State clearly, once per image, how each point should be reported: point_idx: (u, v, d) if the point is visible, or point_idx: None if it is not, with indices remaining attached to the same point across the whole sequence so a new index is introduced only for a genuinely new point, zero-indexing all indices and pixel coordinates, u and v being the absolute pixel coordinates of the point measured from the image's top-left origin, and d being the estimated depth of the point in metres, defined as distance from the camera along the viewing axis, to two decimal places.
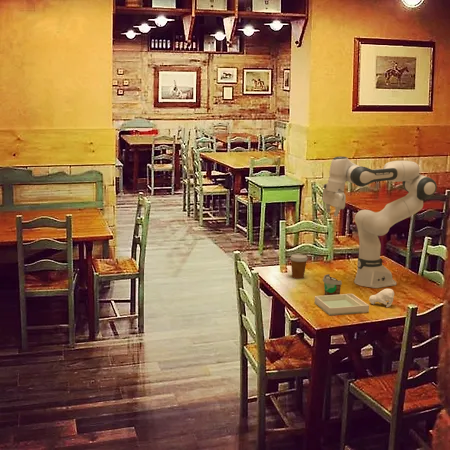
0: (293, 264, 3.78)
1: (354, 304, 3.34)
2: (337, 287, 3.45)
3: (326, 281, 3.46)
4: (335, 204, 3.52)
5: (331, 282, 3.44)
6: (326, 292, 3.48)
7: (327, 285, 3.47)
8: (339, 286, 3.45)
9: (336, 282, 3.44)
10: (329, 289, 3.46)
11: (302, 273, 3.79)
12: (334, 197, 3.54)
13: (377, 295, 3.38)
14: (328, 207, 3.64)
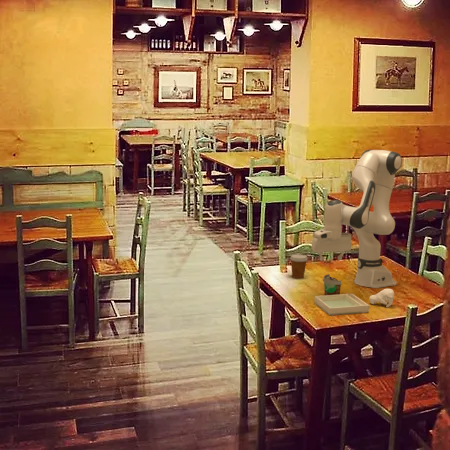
0: (293, 264, 3.78)
1: (354, 304, 3.34)
2: (337, 287, 3.45)
3: (326, 281, 3.46)
4: (344, 248, 3.44)
5: (331, 282, 3.44)
6: (326, 292, 3.48)
7: (327, 285, 3.47)
8: (339, 286, 3.45)
9: (336, 282, 3.44)
10: (329, 289, 3.46)
11: (302, 273, 3.79)
12: (339, 242, 3.43)
13: (377, 295, 3.38)
14: None
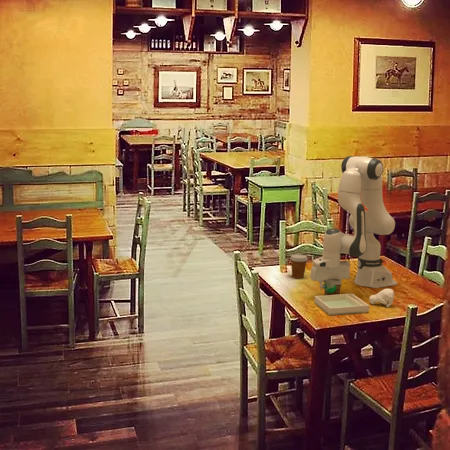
0: (293, 264, 3.78)
1: (354, 304, 3.34)
2: (337, 287, 3.45)
3: (326, 281, 3.46)
4: (343, 276, 3.48)
5: (331, 282, 3.44)
6: (326, 292, 3.48)
7: (327, 285, 3.47)
8: (339, 286, 3.45)
9: (336, 282, 3.44)
10: (329, 289, 3.46)
11: (302, 273, 3.79)
12: (337, 270, 3.46)
13: (377, 295, 3.38)
14: None
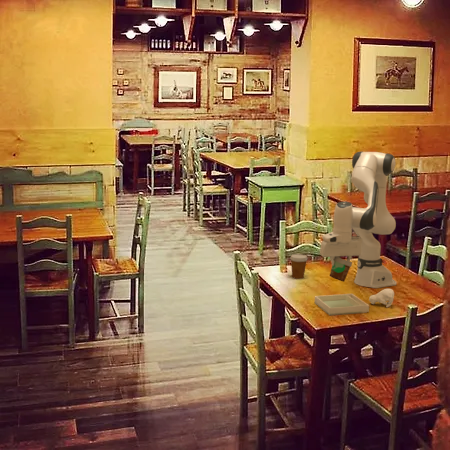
0: (293, 264, 3.78)
1: (354, 304, 3.34)
2: (346, 268, 3.25)
3: (336, 259, 3.26)
4: (354, 252, 3.28)
5: (341, 261, 3.24)
6: (332, 271, 3.28)
7: (336, 264, 3.27)
8: (348, 268, 3.25)
9: (346, 262, 3.24)
10: (337, 268, 3.26)
11: (302, 273, 3.79)
12: (349, 246, 3.27)
13: (377, 295, 3.38)
14: None
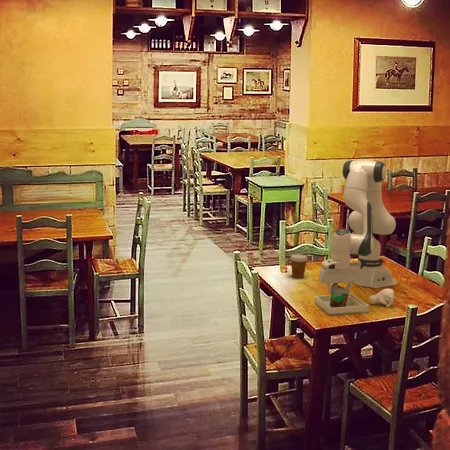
0: (293, 264, 3.78)
1: (354, 304, 3.34)
2: (344, 296, 3.27)
3: (333, 289, 3.29)
4: (353, 279, 3.31)
5: (338, 290, 3.27)
6: (332, 300, 3.31)
7: (334, 293, 3.29)
8: (346, 296, 3.27)
9: (344, 291, 3.26)
10: (335, 297, 3.29)
11: (302, 273, 3.79)
12: (347, 273, 3.29)
13: (377, 295, 3.38)
14: None
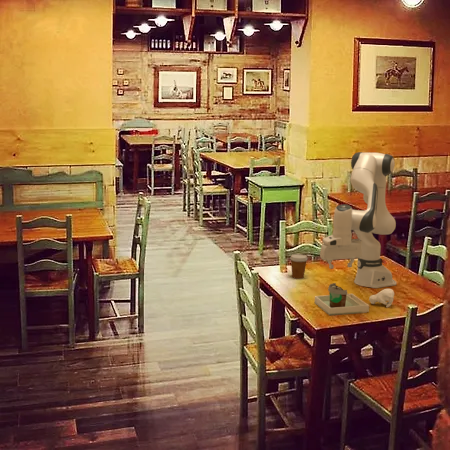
0: (293, 264, 3.78)
1: (354, 304, 3.34)
2: (343, 297, 3.27)
3: (331, 290, 3.29)
4: (354, 255, 3.28)
5: (336, 291, 3.27)
6: (331, 302, 3.31)
7: (332, 294, 3.29)
8: (344, 296, 3.27)
9: (341, 292, 3.26)
10: (334, 299, 3.29)
11: (302, 273, 3.79)
12: (349, 249, 3.27)
13: (377, 295, 3.38)
14: None
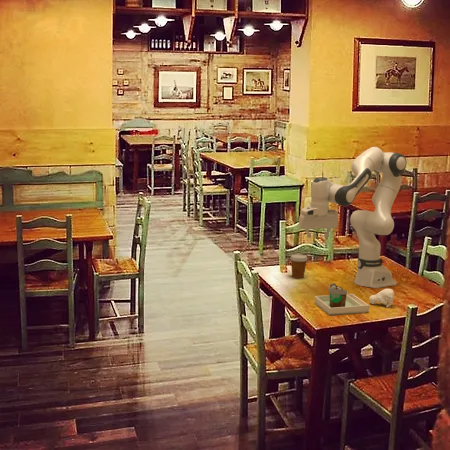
0: (293, 264, 3.78)
1: (354, 304, 3.34)
2: (343, 297, 3.27)
3: (331, 290, 3.29)
4: (330, 225, 3.50)
5: (336, 292, 3.27)
6: (331, 302, 3.31)
7: (332, 295, 3.29)
8: (344, 296, 3.27)
9: (341, 292, 3.26)
10: (334, 299, 3.29)
11: (302, 273, 3.79)
12: (325, 219, 3.48)
13: (377, 295, 3.38)
14: None
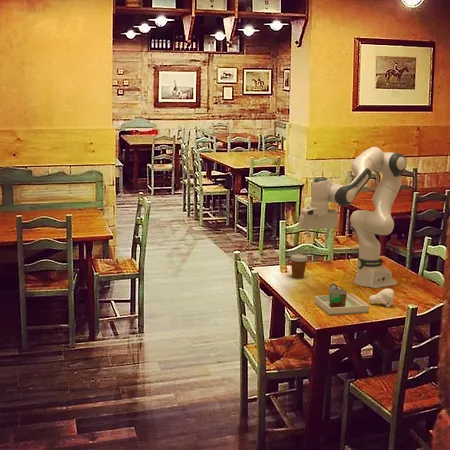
0: (293, 264, 3.78)
1: (354, 304, 3.34)
2: (343, 297, 3.27)
3: (331, 290, 3.29)
4: (330, 225, 3.50)
5: (336, 292, 3.27)
6: (331, 302, 3.31)
7: (332, 295, 3.29)
8: (344, 296, 3.27)
9: (341, 292, 3.26)
10: (334, 299, 3.29)
11: (302, 273, 3.79)
12: (325, 219, 3.48)
13: (377, 295, 3.38)
14: None
